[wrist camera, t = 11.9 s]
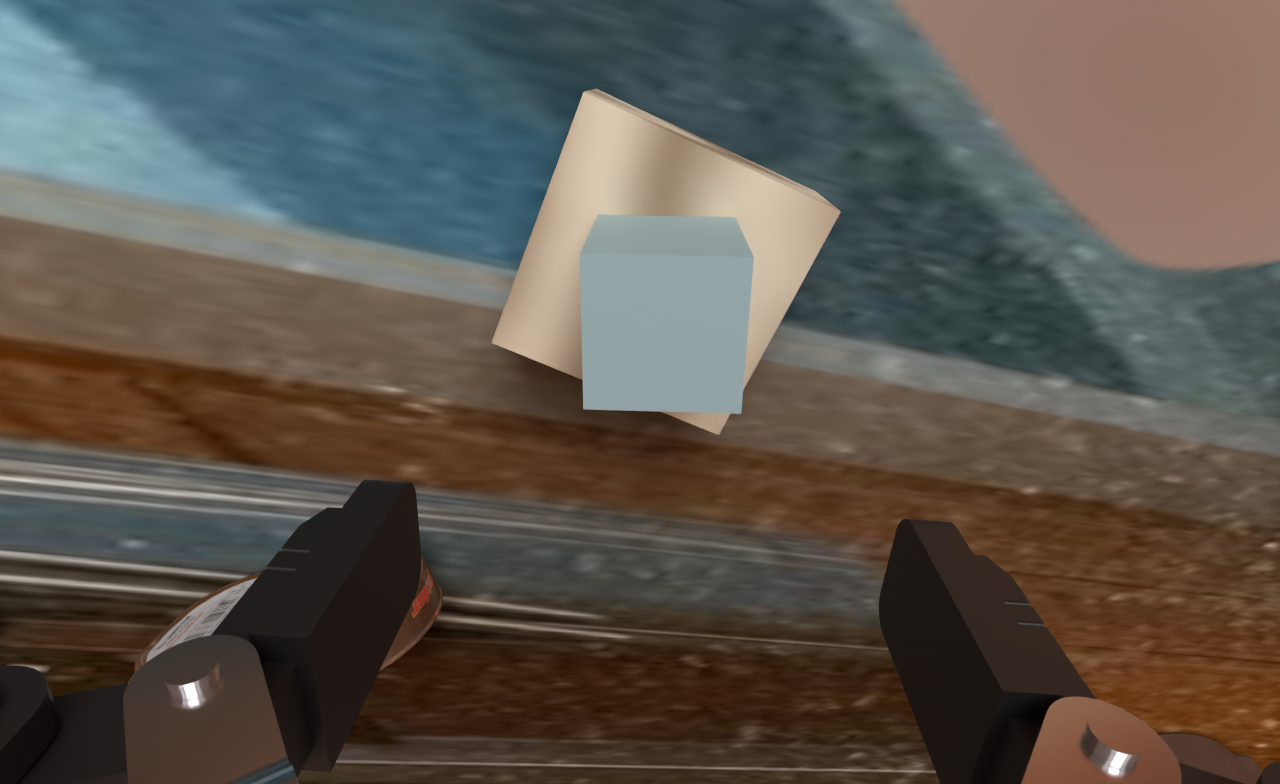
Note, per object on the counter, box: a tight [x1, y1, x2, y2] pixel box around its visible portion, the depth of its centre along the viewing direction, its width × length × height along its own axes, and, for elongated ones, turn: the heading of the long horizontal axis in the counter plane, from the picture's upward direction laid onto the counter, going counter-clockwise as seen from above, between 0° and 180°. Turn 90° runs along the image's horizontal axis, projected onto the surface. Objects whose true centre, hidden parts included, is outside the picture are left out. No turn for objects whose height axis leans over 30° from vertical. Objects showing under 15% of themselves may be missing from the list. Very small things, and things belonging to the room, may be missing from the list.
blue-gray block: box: [580, 214, 754, 414], centre depth 24 cm, size 5×5×6 cm
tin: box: [135, 555, 443, 673], centre depth 35 cm, size 15×3×8 cm, turn 106°
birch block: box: [492, 89, 841, 435], centre depth 29 cm, size 10×10×5 cm
